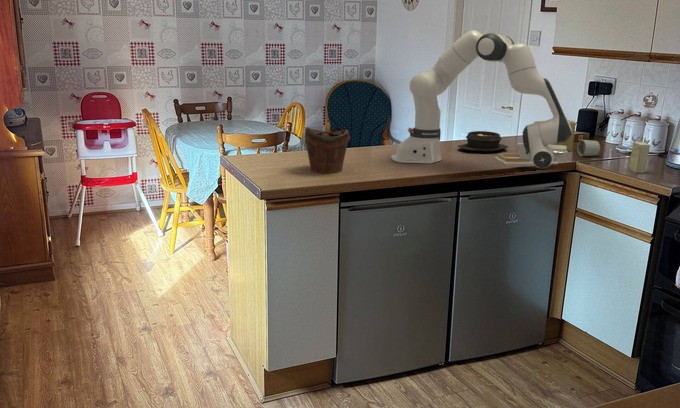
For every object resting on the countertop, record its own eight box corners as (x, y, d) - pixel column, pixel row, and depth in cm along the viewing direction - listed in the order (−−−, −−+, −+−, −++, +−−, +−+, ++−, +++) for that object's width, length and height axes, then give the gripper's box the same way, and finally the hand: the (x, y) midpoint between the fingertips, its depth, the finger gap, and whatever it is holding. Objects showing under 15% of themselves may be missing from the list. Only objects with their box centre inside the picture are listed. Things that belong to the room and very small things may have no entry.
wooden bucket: (359, 169, 256) (359, 126, 251) (324, 177, 242) (324, 132, 237) (330, 163, 268) (330, 122, 263) (295, 170, 255) (294, 127, 250)
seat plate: (505, 164, 270) (505, 158, 269) (495, 158, 282) (495, 153, 281) (557, 163, 272) (558, 158, 271) (545, 157, 284) (546, 152, 284)
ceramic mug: (600, 157, 287) (602, 141, 285) (584, 157, 286) (586, 141, 284) (588, 153, 297) (590, 137, 295) (572, 153, 296) (574, 137, 294)
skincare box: (628, 169, 263) (632, 141, 259) (638, 169, 263) (642, 141, 259) (635, 173, 256) (640, 144, 253) (646, 173, 257) (650, 144, 253)
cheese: (536, 154, 292) (540, 123, 288) (523, 150, 301) (526, 120, 297) (573, 151, 300) (577, 120, 296) (559, 147, 309) (562, 118, 305)
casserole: (469, 155, 287) (471, 137, 285) (450, 148, 304) (451, 131, 302) (515, 152, 295) (517, 135, 293) (494, 145, 312) (495, 129, 310)
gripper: (569, 146, 250) (567, 140, 263) (517, 143, 255) (517, 137, 268) (567, 161, 252) (565, 154, 264) (515, 158, 257) (516, 151, 270)
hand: (541, 146), depth 266 cm, fingers open, 8 cm apart
